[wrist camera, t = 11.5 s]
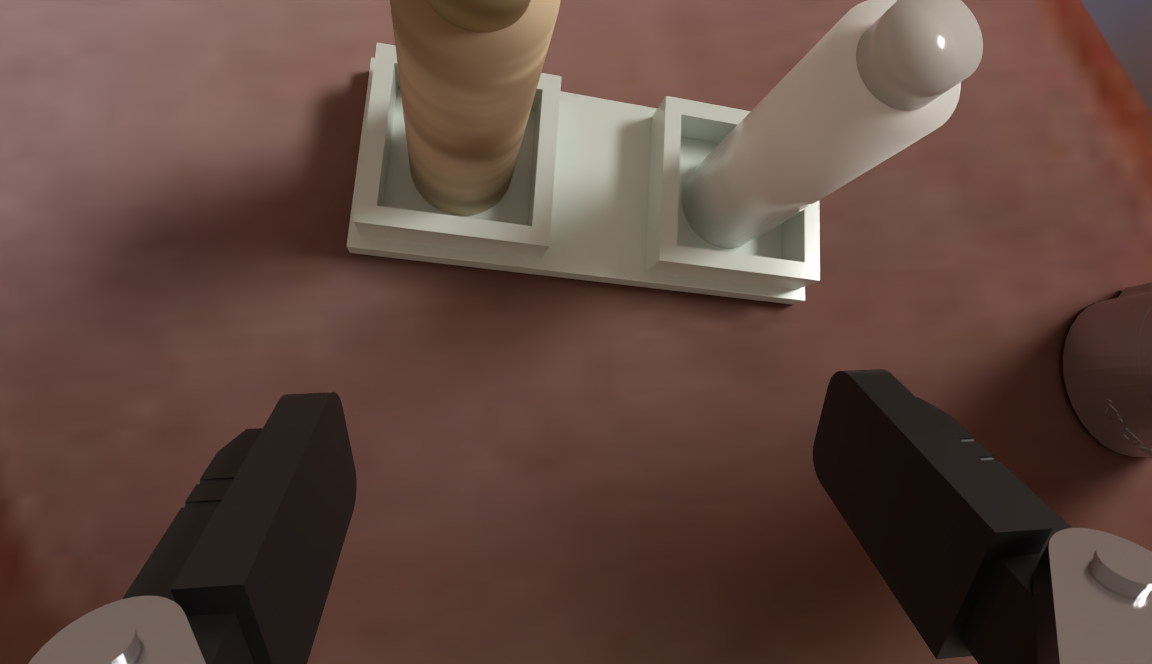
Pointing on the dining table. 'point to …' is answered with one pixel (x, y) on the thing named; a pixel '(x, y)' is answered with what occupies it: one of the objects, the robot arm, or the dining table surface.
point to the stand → (578, 199)
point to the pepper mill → (468, 92)
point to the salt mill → (835, 116)
